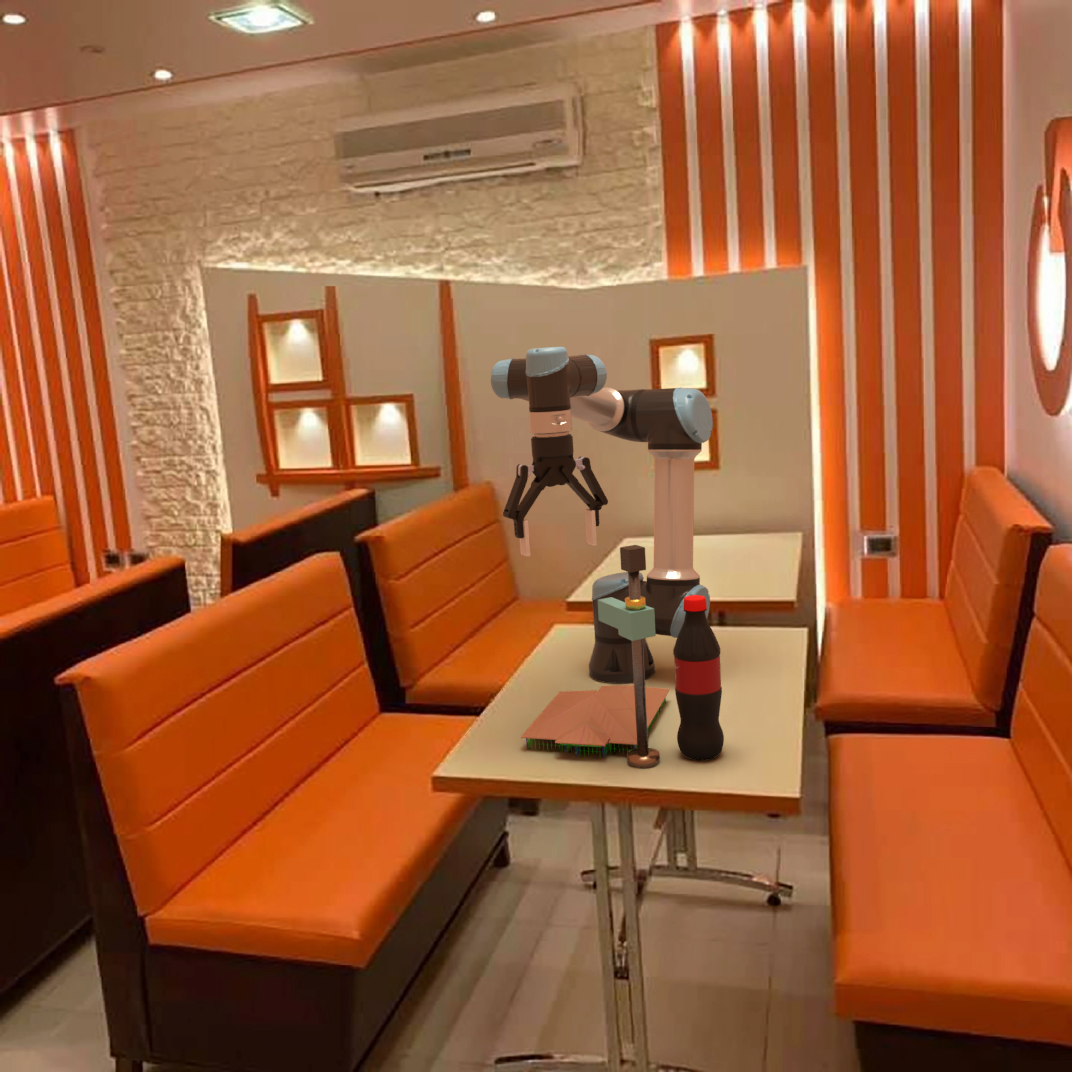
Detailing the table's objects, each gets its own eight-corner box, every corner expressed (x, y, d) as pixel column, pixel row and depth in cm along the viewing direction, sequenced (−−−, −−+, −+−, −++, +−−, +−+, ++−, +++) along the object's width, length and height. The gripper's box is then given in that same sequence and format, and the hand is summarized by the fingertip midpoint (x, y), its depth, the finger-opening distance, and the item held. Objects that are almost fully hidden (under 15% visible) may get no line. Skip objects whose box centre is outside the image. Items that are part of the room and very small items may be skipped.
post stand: (621, 759, 192) (609, 547, 185) (648, 752, 195) (638, 542, 187) (637, 771, 187) (626, 552, 179) (666, 763, 189) (656, 547, 182)
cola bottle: (719, 743, 196) (713, 589, 191) (728, 761, 188) (723, 600, 183) (674, 747, 196) (667, 592, 191) (682, 765, 188) (674, 604, 182)
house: (516, 759, 197) (513, 718, 196) (566, 699, 228) (564, 663, 226) (635, 767, 190) (633, 724, 188) (670, 703, 221) (668, 666, 219)
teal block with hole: (594, 623, 195) (593, 597, 195) (616, 619, 197) (615, 593, 196) (632, 640, 183) (630, 613, 182) (655, 636, 185) (654, 608, 184)
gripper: (496, 442, 179) (505, 563, 183) (622, 428, 190) (628, 543, 194) (479, 440, 186) (488, 556, 190) (602, 426, 196) (608, 537, 200)
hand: (559, 549), depth 192 cm, fingers open, 13 cm apart
